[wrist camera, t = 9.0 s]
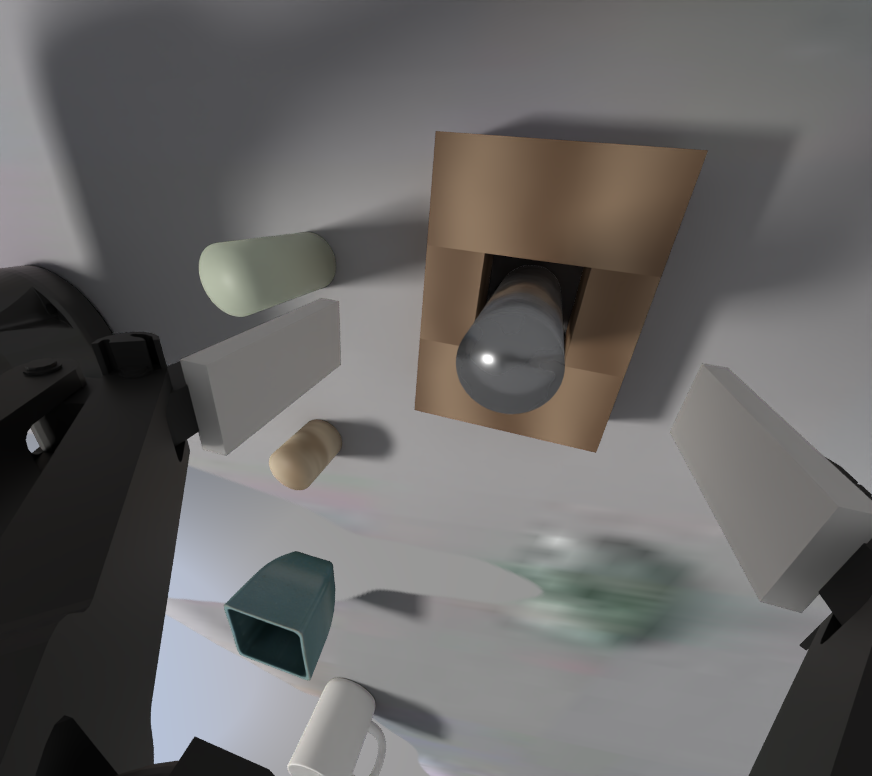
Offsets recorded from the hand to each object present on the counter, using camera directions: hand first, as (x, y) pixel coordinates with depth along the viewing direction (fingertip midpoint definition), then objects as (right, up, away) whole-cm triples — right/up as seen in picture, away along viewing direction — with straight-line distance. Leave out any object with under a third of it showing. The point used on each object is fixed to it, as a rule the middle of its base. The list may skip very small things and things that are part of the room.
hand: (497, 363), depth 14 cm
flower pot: (-17, -23, +31) cm, 42 cm away
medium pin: (-11, +8, +13) cm, 20 cm away
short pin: (-13, -6, +21) cm, 25 cm away
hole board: (+4, +5, +10) cm, 12 cm away
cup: (-13, -49, +43) cm, 66 cm away
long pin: (+4, +5, +10) cm, 12 cm away
